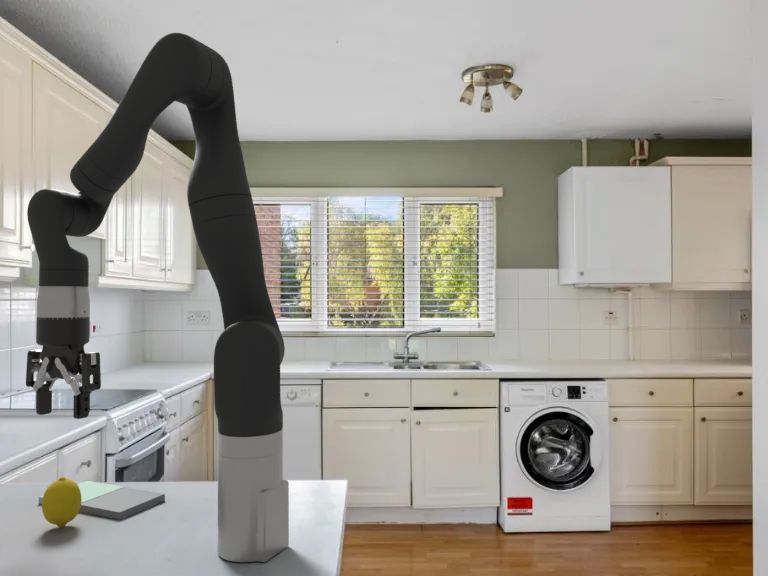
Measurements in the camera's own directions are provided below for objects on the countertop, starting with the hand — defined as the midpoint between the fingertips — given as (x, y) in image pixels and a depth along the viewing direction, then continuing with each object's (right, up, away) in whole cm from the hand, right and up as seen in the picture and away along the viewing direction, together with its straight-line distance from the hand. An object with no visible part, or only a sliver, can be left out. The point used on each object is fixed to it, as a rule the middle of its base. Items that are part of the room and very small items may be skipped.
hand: (62, 416), depth 93 cm
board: (+1, -18, +11) cm, 21 cm away
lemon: (0, -18, 0) cm, 18 cm away
